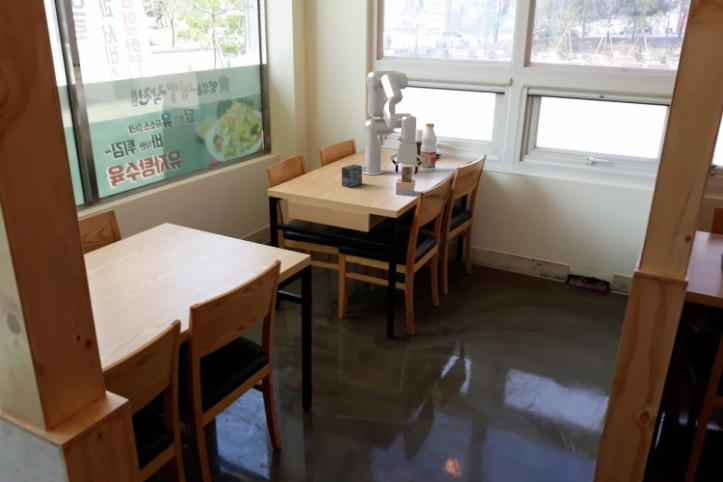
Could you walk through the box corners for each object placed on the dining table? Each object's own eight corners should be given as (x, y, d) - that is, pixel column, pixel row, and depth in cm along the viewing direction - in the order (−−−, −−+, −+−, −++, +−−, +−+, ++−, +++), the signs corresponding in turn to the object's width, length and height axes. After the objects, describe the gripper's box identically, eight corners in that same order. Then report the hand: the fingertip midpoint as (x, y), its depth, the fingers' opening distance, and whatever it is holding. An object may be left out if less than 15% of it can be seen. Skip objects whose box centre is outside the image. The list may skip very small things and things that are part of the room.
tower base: (395, 195, 309) (396, 189, 308) (397, 190, 318) (397, 184, 316) (413, 196, 308) (413, 190, 307) (413, 191, 317) (414, 185, 315)
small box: (353, 182, 331) (353, 163, 327) (362, 184, 327) (362, 165, 323) (340, 185, 323) (341, 167, 320) (350, 188, 319) (350, 169, 316)
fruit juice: (419, 168, 365) (422, 122, 356) (435, 169, 364) (438, 123, 354) (418, 171, 357) (421, 124, 347) (434, 172, 355) (437, 125, 346)
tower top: (396, 188, 308) (396, 182, 307) (398, 184, 317) (398, 178, 315) (413, 190, 307) (413, 183, 306) (415, 185, 315) (415, 179, 314)
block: (401, 181, 308) (401, 168, 306) (402, 179, 313) (402, 166, 310) (411, 182, 308) (411, 169, 305) (411, 179, 312) (412, 166, 310)
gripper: (390, 141, 300) (389, 174, 306) (424, 142, 298) (422, 176, 304) (391, 138, 307) (390, 170, 313) (425, 140, 305) (423, 172, 311)
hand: (406, 173), depth 309 cm, fingers open, 9 cm apart
